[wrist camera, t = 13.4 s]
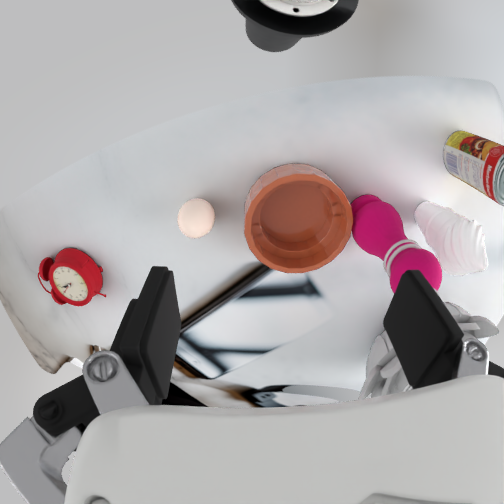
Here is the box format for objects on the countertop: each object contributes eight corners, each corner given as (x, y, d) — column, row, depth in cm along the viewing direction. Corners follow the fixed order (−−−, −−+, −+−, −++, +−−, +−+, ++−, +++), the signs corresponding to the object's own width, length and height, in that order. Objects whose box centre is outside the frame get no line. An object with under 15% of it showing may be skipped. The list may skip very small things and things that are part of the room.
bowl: (245, 160, 36) (245, 171, 31) (346, 166, 36) (361, 178, 31) (243, 251, 43) (243, 272, 38) (332, 252, 43) (341, 273, 38)
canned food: (479, 165, 35) (526, 191, 24) (449, 184, 37) (496, 216, 27) (468, 123, 31) (521, 142, 21) (437, 141, 33) (489, 164, 23)
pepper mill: (381, 184, 37) (464, 259, 20) (390, 225, 41) (459, 311, 24) (337, 201, 39) (400, 290, 22) (349, 242, 42) (403, 339, 25)
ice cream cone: (396, 229, 41) (448, 292, 27) (415, 182, 37) (481, 231, 23) (431, 239, 42) (482, 297, 29) (450, 197, 38) (512, 245, 24)
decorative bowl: (401, 377, 64) (418, 421, 52) (320, 358, 57) (334, 418, 44) (481, 298, 51) (512, 341, 38) (419, 249, 43) (464, 305, 30)
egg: (182, 191, 37) (171, 210, 32) (217, 193, 38) (212, 212, 32) (182, 223, 40) (172, 246, 34) (216, 225, 40) (211, 249, 35)
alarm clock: (110, 305, 43) (46, 321, 41) (115, 284, 48) (55, 301, 47) (84, 253, 38) (18, 275, 36) (93, 235, 43) (31, 257, 41)
